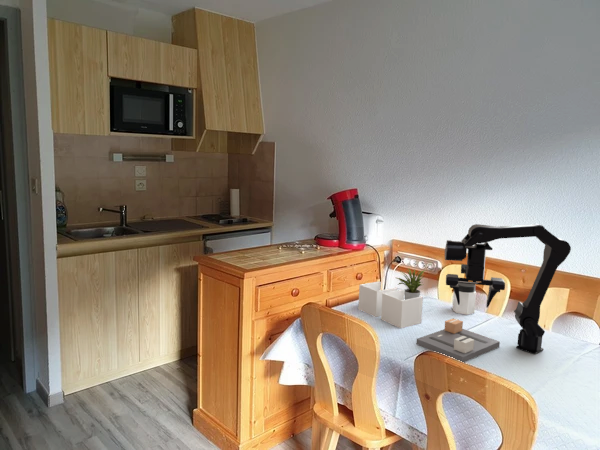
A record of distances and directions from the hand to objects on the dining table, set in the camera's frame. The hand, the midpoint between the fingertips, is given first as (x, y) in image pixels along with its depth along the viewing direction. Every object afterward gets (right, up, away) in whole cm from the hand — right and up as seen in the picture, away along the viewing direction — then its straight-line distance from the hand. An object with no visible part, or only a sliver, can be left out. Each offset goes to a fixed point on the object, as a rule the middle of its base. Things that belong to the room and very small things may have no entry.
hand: (472, 305), depth 160 cm
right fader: (-4, -10, +8) cm, 14 cm away
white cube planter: (-24, -9, +28) cm, 38 cm away
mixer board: (-5, -14, 0) cm, 15 cm away
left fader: (-6, -13, -9) cm, 17 cm away
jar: (+9, -9, +36) cm, 38 cm away
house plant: (-10, -7, +45) cm, 46 cm away
